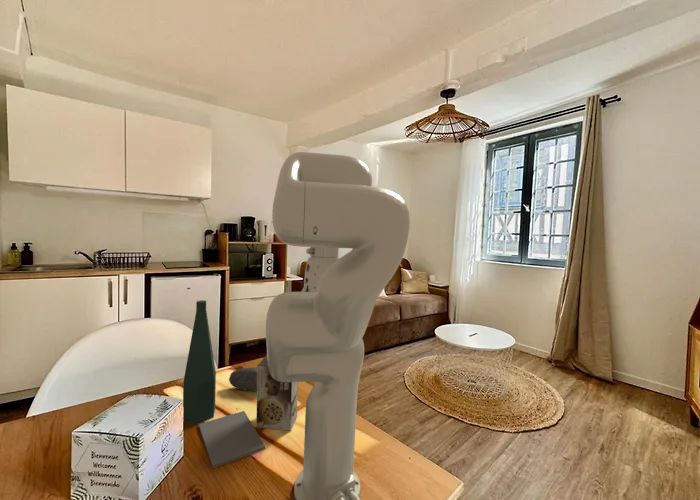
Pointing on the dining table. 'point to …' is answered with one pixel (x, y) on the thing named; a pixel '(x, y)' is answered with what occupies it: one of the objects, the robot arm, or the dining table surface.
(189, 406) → the bottle
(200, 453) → the dining table surface
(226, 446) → the mat
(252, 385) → the perforated stone tool
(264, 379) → the coffee box
